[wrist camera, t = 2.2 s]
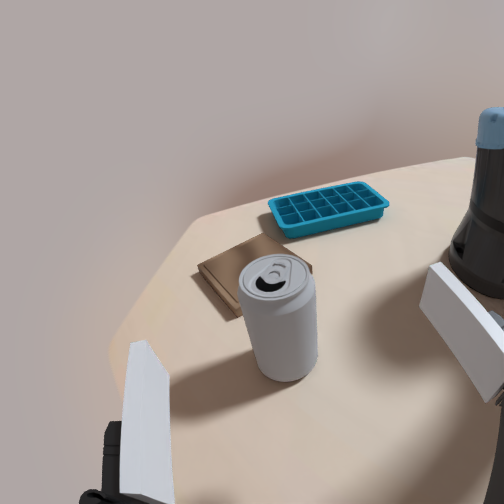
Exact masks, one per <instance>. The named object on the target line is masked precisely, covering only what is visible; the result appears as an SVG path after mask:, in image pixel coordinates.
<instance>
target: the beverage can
mask: <svg viewBox="0 0 504 504" xmlns="http://www.w3.org/2000/svg"><path fill="white" fill-rule="evenodd" d="M237 295H238V299H239V303H240V306H241V310H242V313H243V317H244V320H245V324H246V327H247V331H248V334H249V337H250V341H251V344H252V348H253V351H254V354H255V358H256V361H257V364H258V367H259V369H260V370H261V371H262V373H263V374H264V375H266V376H267V377H269V378H270V379H273V380H276V381H281V382H289V381H294V380H298V379H300V378H302V377H304V376H305V375H307V374H308V373H309V372H310V371H311V370H312V369H313V368H314V366H315V364H316V362H317V357H318V345H317V312H316V290H315V281H314V278H313V276H312V275H311V273H310V271H309V268H308V266H307V264H306V263H305V262H304V261H303V260H301V259H300V258H298V257H295V256H292V255H288V254H272V255H267V256H263V257H260V258H258V259H256V260H254V261H252V262H251V263H249V264H248V265H247V266H246V267H245V268H244V269H243V270H242V272H241V274H240V276H239V287H238V292H237Z"/></svg>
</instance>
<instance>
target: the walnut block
mask: <svg viewBox="0 0 504 504" xmlns="http://www.w3.org/2000/svg"><path fill="white" fill-rule="evenodd" d="M272 254H288V255H292V256H295V257H298V258H300V257H299V256H297V255H296V254H294V253H293V252H291V251H290V250H288V249H287V248H285V247H284V246H282V245H281V244H279V243H278V242H276V241H275V240H273V239H272V238H270V237H269V236H267V235H266V234H264V233H261V234H259V235H257V236H255V237H253V238H251V239H249V240H247V241H245V242H243V243H241V244H239V245H237V246H235V247H233V248H231V249H229V250H227V251H225V252H223V253H221V254H219V255H217V256H215V257H213V258H211V259H209V260H207V261H204V262H202V263H200V264H198V265H197V266H198V269H199V272H200V274H201V275H202V276H203V277H204V278H205V280H206V281H207V282H208V283H209V284H210V286H211V287H212V288H213V289H214V290H215V292H216V293H217V294H218V295H219V296H220V297H221V299H222V300H223V301H224V302H225V303H226V304H227V306H228V307H229V308H230V309H231V310H232V311H233V313H234V314H235V315H236V316H237V317H240V316H242V315H243V313H242V310H241V306H240V303H239V299H238V295H237V292H238V287H239V276H240V274H241V272H242V270H243V269H244V268H245V267H246V266H247V265H248V264H249V263H251V262H252V261H254V260H256V259H258V258H260V257H263V256H267V255H272ZM300 259H301V260H303V259H302V258H300ZM303 261H304V262H305V263H306V264H307V266H308V268H309V271H310V273H311V275H312V265H310V264H309V263H308V262H306V261H305V260H303Z"/></svg>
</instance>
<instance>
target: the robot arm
mask: <svg viewBox="0 0 504 504" xmlns="http://www.w3.org/2000/svg"><path fill="white" fill-rule="evenodd" d="M476 146H477V154H476V163H475V172H474V179H473V186H472V192H471V199H470V205H469V209H468V211H467V212H466V214H465V216H464V218H463V220H462V221H461V223H460V225H459V227H458V228H457V230H456V232H455V234H454V235H453V238H452V240H451V245H450V249H449V261H450V264H451V266H452V268H453V270H454V271H455V273H456V274H457V275H458V276H459V277H460V279H461V280H462V281H464V282H465V283H466V284H467V285H469V286H470V287H471V288H473V289H475V290H476V291H478V292H480V293H482V294H485V295H487V296H490V297H494V298H500V299H504V107H493V108H488V109H486V110H484V111H483V112H482V113H481V114H480V117H479V125H478V136H477V139H476ZM419 308H420V309H421V310H422V311H423V313H424V314H425V315H426V317H427V318H428V319H429V321H430V322H431V323H432V325H433V326H434V327H435V329H436V330H437V332H438V333H439V334H440V336H441V337H442V338H443V340H444V341H445V343H446V344H447V345H448V347H449V348H450V350H451V351H452V353H453V354H454V356H455V357H456V358H457V360H458V361H459V363H460V364H461V366H462V367H463V369H464V370H465V372H466V373H467V375H468V376H469V378H470V379H471V381H472V383H473V384H474V386H475V387H476V389H477V390H478V392H479V394H480V395H481V397H482V399H483V400H484V402H485V404H486V403H487V402H488V401H490V400H491V399H493V398H494V397H495V396H497V394H498V393H499V392H500V391H501V390H502V389H503V390H504V319H503V318H502V317H501V316H500V315H498V314H497V313H495V312H494V311H492V310H491V311H489V312H487V311H486V310H485V308H484V307H483V306H482V305H481V304H480V303H479V302H478V300H477V299H476V298H475V297H474V296H473V295H472V294H471V293H470V292H469V291H468V290H467V288H466V287H465V286H464V285H463V284H462V283H461V282H460V281H459V280H458V279H457V278H456V277H455V276H454V275H453V274H452V273H451V272H450V271H449V270H448V269H447V268H446V267H445V266H444V265H443V264H442V263H441V262H438V263H435V264H433V265H430V266H429V269H428V273H427V278H426V282H425V286H424V290H423V294H422V297H421V301H420V305H419ZM501 401H502V402H501ZM500 402H501V403H500ZM499 403H500V405H499V406H502V408H501V419H500V427H499V435H498V442H497V448H496V453H495V459H494V464H493V469H492V473H491V477H490V481H489V485H488V489H487V493H486V497H485V500H484V503H483V504H504V392H503V393H502V394H501V396H500V397H499V398H498V399H497V401H496V403H495V405H496V406H497V405H498V404H499ZM103 455H104V456H103V465H102V489H101V491H98V490H96V489H93V490H92V489H90V490H87V491H85V492H84V493H83V494H82V495H81V497H80V500H79V504H175V499H174V488H173V475H172V459H171V439H170V402H169V374H168V372H167V371H166V370H165V368H164V367H163V365H162V364H161V362H160V361H159V359H158V358H157V356H156V354H155V353H154V351H153V350H152V348H151V347H150V345H149V344H148V342H147V340H143V341H137V342H131V343H130V349H129V356H128V364H127V372H126V381H125V391H124V401H123V413H122V421H110V422H109V424H108V427H107V429H106V431H105V435H104V448H103Z"/></svg>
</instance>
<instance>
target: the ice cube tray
mask: <svg viewBox="0 0 504 504" xmlns="http://www.w3.org/2000/svg"><path fill="white" fill-rule="evenodd" d="M268 205H269V207H270V209H271V211H272V213H273V215H274V217H275V219H276V221H277V223H278V225H279V227H280V228H281V229H282V230H283V232H284V234H285V236H286V238H289V239H291V238H298V237H303V236H307V235H311V234H315V233H319V232H324V231H328V230H332V229H336V228H341V227H345V226H349V225H353V224H357V223H362V222H366V221H370V220H374V219H379V218H381V217H382V216H383V211H384V208H387V207H388V206H389V201H387V200H386V199H385V198H384V197H382V196H381V195H380V194H379V193H378V192H376V191H375V190H374V189H372V188H371V187H370V186H369V185H367V184H366V183H365V182H359V181H357V182H352V183H347V184H341V185H336V186H331V187H326V188H321V189H316V190H311V191H306V192H301V193H297V194H292V195H287V196H283V197H278V198H274V199H271V200H269V201H268Z"/></svg>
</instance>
